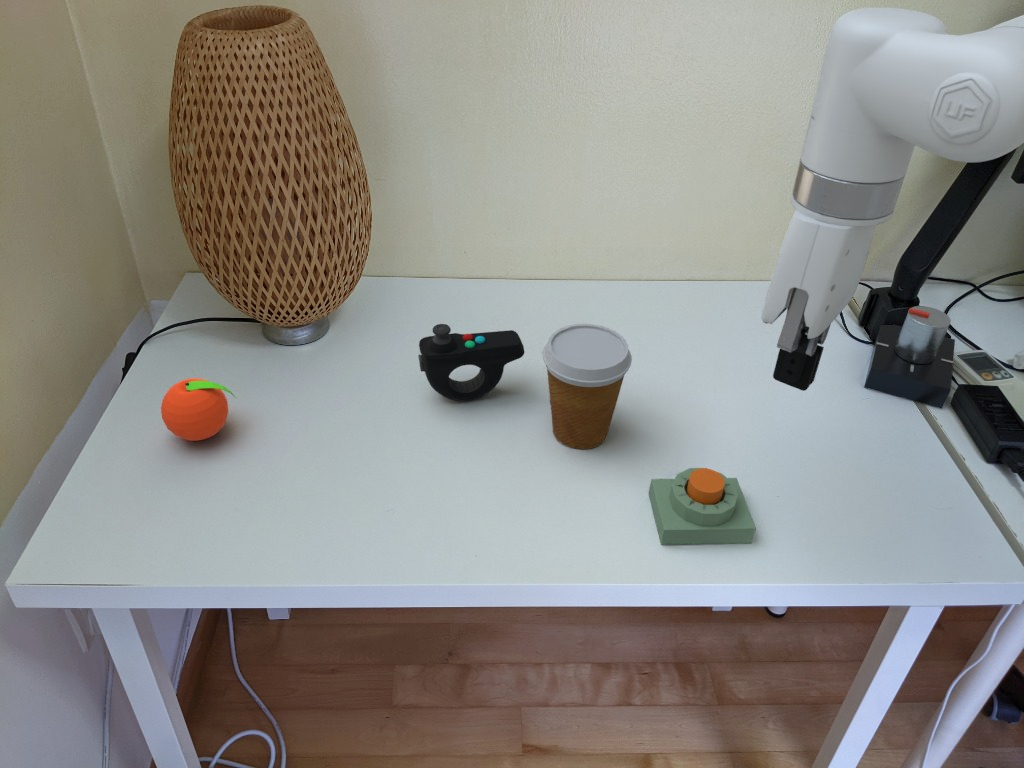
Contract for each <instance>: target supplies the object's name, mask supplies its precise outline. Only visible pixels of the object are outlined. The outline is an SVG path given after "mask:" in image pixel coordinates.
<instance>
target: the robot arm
mask: <svg viewBox="0 0 1024 768" xmlns="http://www.w3.org/2000/svg"><path fill="white" fill-rule="evenodd" d="M819 71H820V72H819V76H818V80H817V84H816V89H815V93H814V98H813V102H812V106H811V109H810V115H809V119H808V123H807V127H806V131H805V136H804V140H803V146H802V149H801V153H800V158H799V162H798V166H797V171H796V174H795V178H794V183H793V188H792V192H791V195H790V203H791V205H792V207H793V208H794V209H795V210H794V212H793V214H792V216H791V219H790V221H789V224H788V226H787V229H786V231H785V234H784V237H783V240H782V242H781V245H780V249H779V252H778V254H777V258H776V261H775V264H774V268H773V271H772V275H771V278H770V282H769V285H768V289H767V292H766V296H765V300H764V303H763V306H762V310H761V316H760V318H761V320H762V323H764V324H769V325H772V324H774V323H775V322H776V320H778V319H779V318H780V316H781V315H783V313H784V312H786V315H785V318H784V323H783V325H782V327H781V331H780V333H779V337H778V339H777V343H776V348H778V349H779V350H778V353H777V358H776V361H775V366H774V368H773V369H774V370H773V373H772V378H773V379H774V380H775V381H776V382H780V383H782V384H785V385H786V386H790V387H792V388H795V389H797V390H800V391H802V392H805V391H807V390H808V389H809V388H810V386H811V385H812V384H813V383H814V381H815V378H816V375H817V371H818V368H819V365H820V362H821V358H822V354H823V351H824V346H822V345H824V343H825V342H826V339H827V337H828V334H829V332H830V331H829V330H830V328H831V325H832V323H833V322H834V321H835V320H836V318H838V317H839V315H840V314H841V313H842V311H843V310H844V309H845V308H846V307H847V306H848V305H849V303H850V302H851V301H852V299H853V298H854V296H855V294H856V292H857V289H858V287H859V284H860V282H861V278H862V276H863V272H864V269H865V267H866V264H867V260H868V256H869V253H870V250H871V246H872V242H873V239H874V235H875V231H876V227H877V226H878V225H881V224H885V223H887V222H888V221H890V220H891V219H892V218H893V214H894V211H895V208H896V205H897V203H898V199H899V196H900V193H901V190H902V187H903V184H904V181H905V177H906V175H907V172H908V171H907V170H908V168H909V165H910V162H911V159H912V156H913V152H914V150H915V146H916V147H918V148H920V149H922V150H925V151H926V152H929V153H931V154H933V155H936V156H938V157H941V158H944V159H946V160H951V161H953V162H960V163H982V162H983V163H984V162H988V161H992V160H995V159H998V158H1000V157H1003V156H1005V155H1007V154H1009V153H1011V152H1012V151H1014V150H1015V149H1017V148H1018V147H1020V146H1022V145H1023V144H1024V14H1022V15H1020V16H1016V17H1014V18H1012V19H1009V20H1006V21H1003V22H1001V23H998V24H996V25H994V26H992V27H990V28H987V29H984V30H981V31H975V32H970V33H964V34H948V30H947V27H946V25H945V24H944V22H943V21H942V20H941V19H939V18H938V17H936V16H934V15H932V14H930V13H927V12H924V11H919V10H913V9H909V8H907V9H906V8H898V7H883V6H882V7H881V6H877V7H875V6H873V7H872V6H871V7H862V8H861V7H860V8H856V9H853V10H850V11H849V10H848V11H847V12H845V13H844V14H842V15H841V16H839V18H838V19H837V20H836V21H835V22H834V23H833V26H832V28H831V29H830V32H829V35H828V39H827V42H826V46H825V50H824V54H823V58H822V63H821V67H820V70H819Z"/></svg>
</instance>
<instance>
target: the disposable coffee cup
mask: <svg viewBox="0 0 1024 768" xmlns="http://www.w3.org/2000/svg"><path fill="white" fill-rule="evenodd" d="M541 355H542V359H543V363H544V365H545V368H546V371H547V381H548V383H547V384H548V393H549V402H550V403H549V404H550V411H551V412H550V415H551V423H552V433H553V436H554V438H555V439H556V441H558V442H559V443H560V444H562V445H563V446H566V447H568V448H570V449H575V450H590V449H595V448H596V447H597V448H598V447H599V446H601V445H602V444H603V443H605V441H606V439H607V437H608V435H609V434H608V433H609V430H610V426H611V423H612V419H613V416H614V413H615V409H616V406H617V403H618V399H619V396H620V392H621V389H622V385H623V381H624V378H625V375H626V374H627V372H628V371H629V369H630V368H631V366H632V361H633V358H632V353H631V351H630V348H629V344H628V342H627V340H626V339H625V338H624V337H623V336H622V335H621V334H620V333H618V332H617V331H616V330H613V329H611V328H609V327H607V326H606V327H605V326H604V325H599V324H592V323H575V324H570V325H565V326H562V327H560V328H558V329H556V330H555V331H554V332H552V334H551V335H550V336H549V338H548V341H547V342H546V344H545V345H544V347H543V348H542V354H541Z"/></svg>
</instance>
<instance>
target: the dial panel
mask: <svg viewBox="0 0 1024 768" xmlns="http://www.w3.org/2000/svg"><path fill="white" fill-rule="evenodd" d="M880 325H881V324H880ZM902 326H903V325H898V324H893V325H883V326H882V325H881V326H879V328H880V329H879V328H878V330H879V332H878V331H877V333H878V334H876V335H875V338H874V343H873V347H872V350H871V355H870V359H869V364H868V368H867V373H866V377H865V381H864V385H863V388H865V389H869V390H872V391H876V392H879V393H882V394H885V395H886V394H887V395H890V396H894V397H897V398H902V399H905V400H908V401H913V402H916V403H920V404H922V405H926V406H931V407H934V408H938V409H941V410H943V407H944V405H945V403H946V401H947V399H948V396H949V394H950V392H951V389H952V381H953V380H952V379H953V370H954V369H953V367H954V364H955V363H954V359H955V358H954V356H955V345H956V339H954V338H950V337H947V336H945V337H944V339H943V341H942V344H941V346H940V348H939V351H938V353H937V355H936V358H935V360H934V361H933V362H931V363H928V364H917V363H912V362H909V361H907V360H904V359H903V358H901V357H900V356H898V355H897V354H896V352H895V350H894V347H895V344H896V342H897V339H898V336H899V334H900V331H901V329H902Z"/></svg>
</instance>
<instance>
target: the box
mask: <svg viewBox="0 0 1024 768" xmlns="http://www.w3.org/2000/svg"><path fill="white" fill-rule="evenodd" d="M701 468H702V467H689V468H687V469H685V470H683V471H680V472H679V473H677V474H676V475H675V477H674V478H651V480H650V484H649V490H648V497H649V502H650V506H651V509H652V514H653V518H654V521H655V525H656V529H657V533H658V537H659V542H660V545H661V546H673V545H674V546H675V545H680V546H681V545H726V544H727V545H729V544H731V545H732V544H735V545H736V544H752V542H753V539H754V536H755V533H756V529H757V528H756V525H755V522H754V520H753V517H752V515H751V511H750V509H749V506H748V504H747V501H746V499H745V496H744V494H743V491H742V488H741V486H740V483H739V480H738V478H737V477H727V476H726V475H724V474H723V473H721V472H719V471H717V472H718V473H719V474H720V475H721V476H722V477H723V479H724V481H725V486H724V490H723V494H722V497H721V500H720V501H719V502H717V503H716V504H713V505H703V504H701V503H698V502H695V501H693V500H692V499H691V498H690V497H689V495H688V493H687V487H688V482H689V477H690V474H691V473H692V472H693V471H695V470H697V469H701ZM705 468H706V469H708V468H707V467H705Z"/></svg>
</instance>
